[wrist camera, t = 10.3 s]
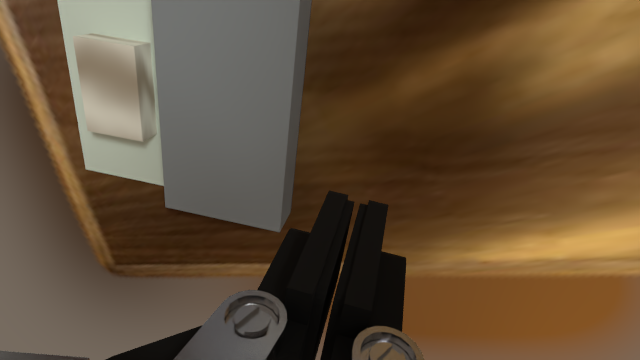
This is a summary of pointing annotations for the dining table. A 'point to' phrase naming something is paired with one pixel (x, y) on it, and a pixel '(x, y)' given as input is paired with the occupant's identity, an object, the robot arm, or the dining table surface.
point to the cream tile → (116, 85)
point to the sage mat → (98, 149)
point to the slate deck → (230, 105)
